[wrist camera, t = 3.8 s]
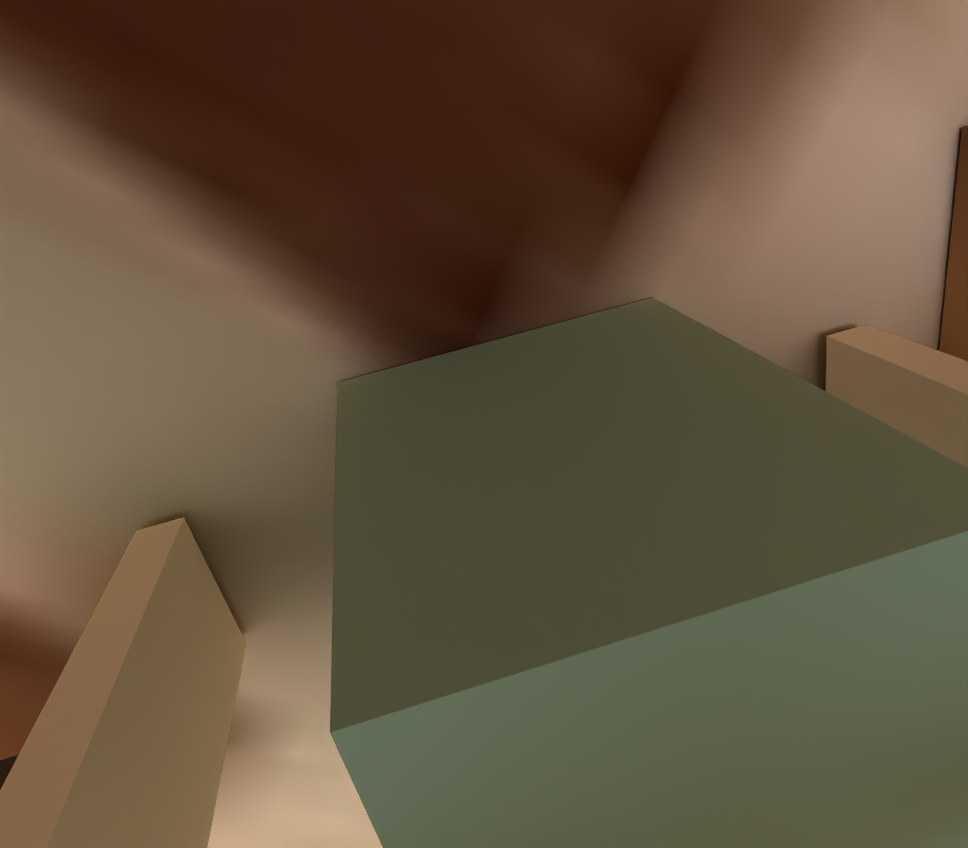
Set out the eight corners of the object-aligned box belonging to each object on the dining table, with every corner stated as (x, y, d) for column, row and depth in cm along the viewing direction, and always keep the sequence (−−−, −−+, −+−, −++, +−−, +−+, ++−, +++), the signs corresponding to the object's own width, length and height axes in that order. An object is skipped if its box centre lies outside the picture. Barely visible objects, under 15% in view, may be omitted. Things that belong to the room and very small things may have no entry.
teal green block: (337, 382, 10) (329, 732, 4) (652, 297, 11) (1040, 509, 5) (421, 630, 12) (492, 1085, 7) (677, 552, 13) (962, 910, 7)
